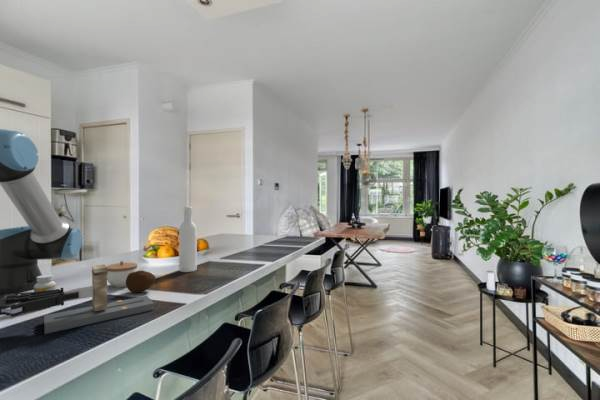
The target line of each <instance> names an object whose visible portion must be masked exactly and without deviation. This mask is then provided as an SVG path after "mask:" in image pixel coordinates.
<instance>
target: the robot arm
mask: <svg viewBox="0 0 600 400" xmlns="http://www.w3.org/2000/svg"><path fill="white" fill-rule="evenodd" d="M38 161H39V155H38V148H37V146H36V144H35V143H34V141H33V140H32V139H31V138H30V137H29V136H28V135H27V134H25V133H23V132H20V131H17V130H10V129H5V128H4V129H3V128H2V129H1V128H0V186H1V188H2V189H3V191H4V192H5V193H6V195H7V196H8V199H10V201H11V202H12V204H13V205H14V207H15V208H16V209H17V211H18V212H19V214H20V215H21V217H22V218H23V220H24V221H25V223H26V224H27V225H26V226H17V227H11V228H10V227H9V228H1V229H0V295H4V294H11V295H7V296H6V297H3V298H0V316H4V315H5V316H10V317H11V318H13V317H14V318H15V317H17V316H20V315H23V314H28V313H32V312H36V311H40V310H41V311H42V310H45V309H49V308H52V307H58V306H64V305H65V302H71V301H77V300H83V299H87V298H92V297H93V286H92V285H90V286H83V287H78V288H72V289H70V288H69V289H65V290H64V287H60V288H56V290H47V291H38V292H34V291H30V292H25V291H29V290H34V285H35V284H36V283H38V282H37V277H38V276H42V275H43V274H42V272H41V269H40V268H39V265H38V263H39V262H38V260H42V261H43V260H68V259H69V260H70V259H73V258H75V257H76V256H78V254H79V252H80V251H81V248H82V244H83V233H82V231H81V230H80V228H76V227H74V228H71V226H70V225H69V223H68V222H67V221H66V220H64V219H61V218H60V216H59V215H58V213H57V212H56V210H55V209H54V207H53V205H52V203H51V202H50V200H49V198H48V197H47V194H46V193H45V191H44V189H43V188H42V186H41V185H40V182H39V180H38V179H37V177H36V176H35V174H34V172H35V170H36V166H37V165H38V163H39V162H38Z"/></svg>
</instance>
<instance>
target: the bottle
mask: <svg viewBox="0 0 600 400" xmlns="http://www.w3.org/2000/svg"><path fill="white" fill-rule="evenodd" d="M193 211H194V210H193V207H192V206H184V207H183V222H182V223H181V224H180V226H179V229H178V231H179V233H178V236H179V239H178V241H179V243H178V245H179V248H178V252H179V253H178V256H179V257H178V258H179V259H178V261H179V262H178V268H179V269H178V270H179V272H181V273H191V272H195V271H197V268H198V257H197V256H198V254H197V253H198V251H197V250H198V248H197V247H198V231H197V230H198V228H197V225H196V224H195V223H194V222H193Z"/></svg>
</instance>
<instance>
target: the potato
mask: <svg viewBox="0 0 600 400" xmlns="http://www.w3.org/2000/svg"><path fill="white" fill-rule="evenodd" d="M156 279H157V278H156V276H155V275H154V274H153V273H151V272H149V271H147V270H137V271H136V272H132V273H129V275H128V276H127V279H126V286H125V287H126V288H127V290H129V292H131V293H141V292H144V291H147V290H149V289H150V288H151V287H152V286H154V284H155V283H156V281H157V280H156Z"/></svg>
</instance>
